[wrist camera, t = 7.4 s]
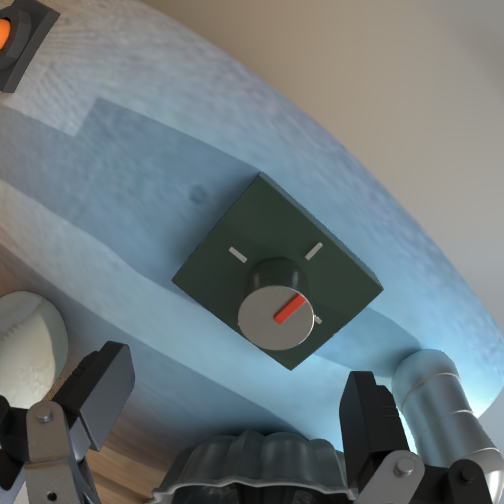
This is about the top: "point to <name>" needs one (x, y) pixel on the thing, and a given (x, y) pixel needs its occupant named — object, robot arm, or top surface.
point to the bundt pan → (257, 472)
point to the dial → (276, 305)
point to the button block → (23, 38)
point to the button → (4, 32)
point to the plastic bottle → (444, 417)
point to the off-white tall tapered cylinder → (30, 347)
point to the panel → (277, 246)
